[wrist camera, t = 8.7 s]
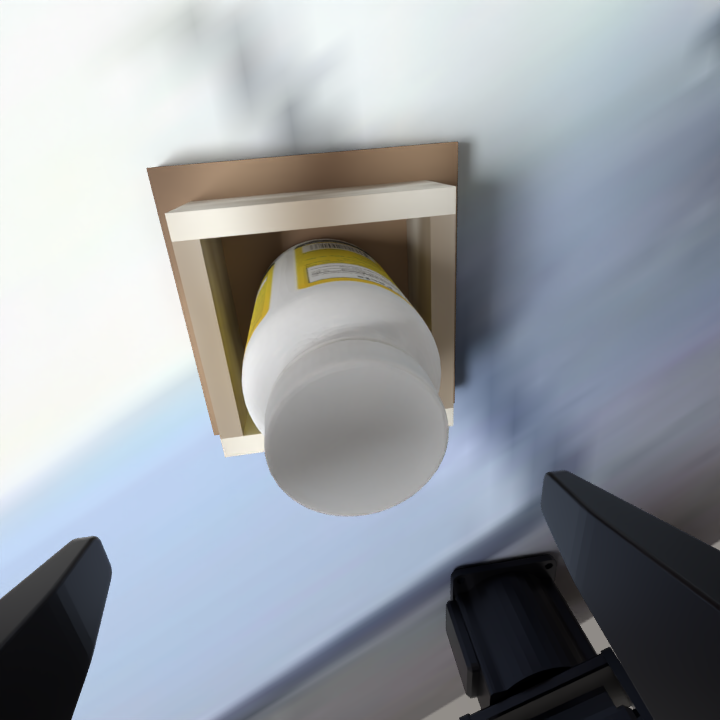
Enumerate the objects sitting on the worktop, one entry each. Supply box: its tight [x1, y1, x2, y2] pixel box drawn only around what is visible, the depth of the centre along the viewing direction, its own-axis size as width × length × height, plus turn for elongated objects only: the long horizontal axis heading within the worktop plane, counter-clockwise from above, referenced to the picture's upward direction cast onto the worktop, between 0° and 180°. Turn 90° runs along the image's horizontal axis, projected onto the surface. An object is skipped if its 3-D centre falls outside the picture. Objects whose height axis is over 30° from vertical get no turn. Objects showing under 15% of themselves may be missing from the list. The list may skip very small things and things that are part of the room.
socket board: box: [147, 142, 458, 457], centre depth 17 cm, size 11×11×5 cm
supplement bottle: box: [242, 239, 449, 516], centre depth 14 cm, size 5×5×10 cm
